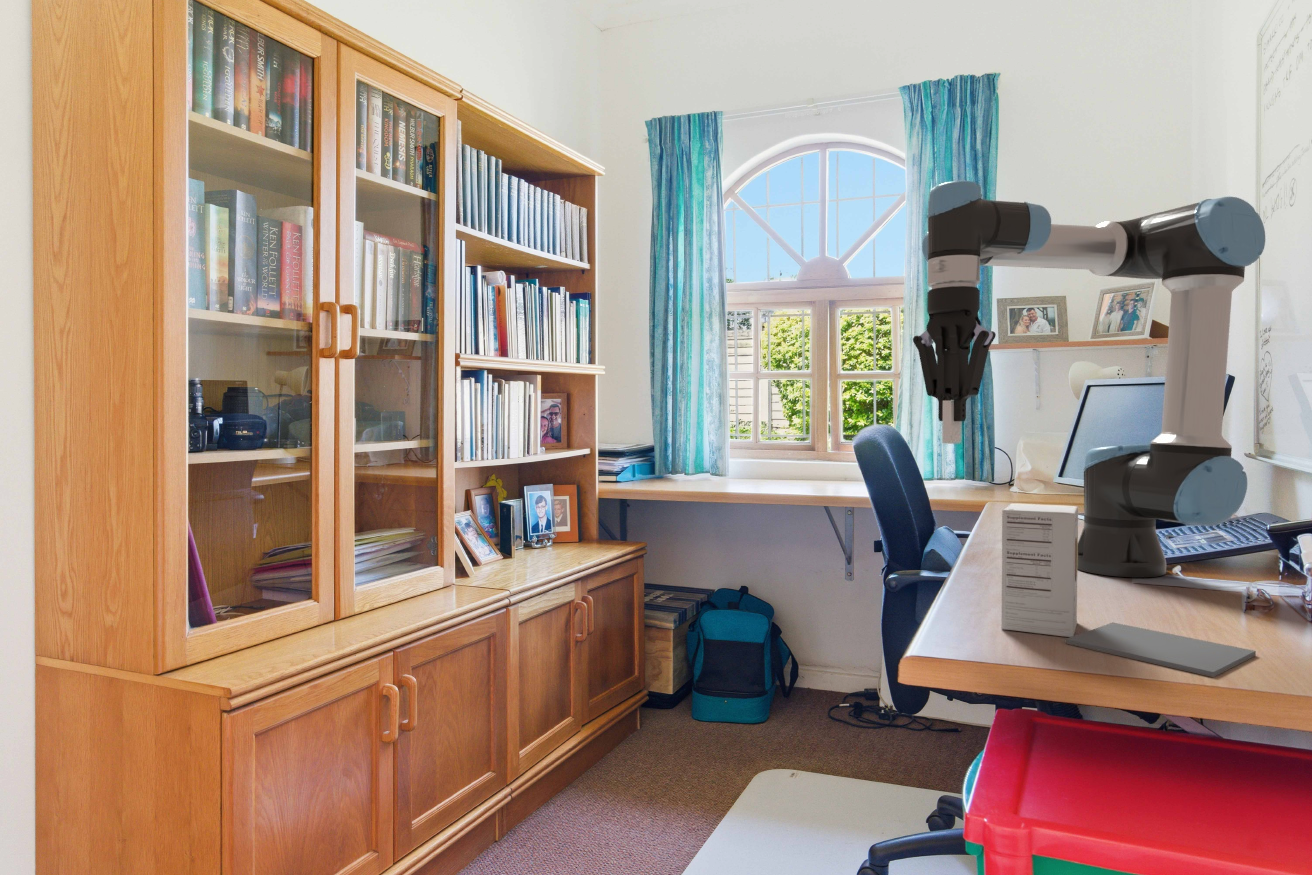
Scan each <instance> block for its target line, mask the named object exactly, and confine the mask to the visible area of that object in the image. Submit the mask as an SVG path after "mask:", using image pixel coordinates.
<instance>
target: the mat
mask: <svg viewBox="0 0 1312 875" xmlns="http://www.w3.org/2000/svg"><path fill="white" fill-rule="evenodd" d="M1065 644H1067V645H1070V646H1075V647H1079V648H1083V649H1088V650H1092V651H1097V652H1102V653H1105V654H1110V655H1115V656H1119V657H1122V658H1128V659H1132V660H1137V661H1140V662H1145V663H1148V664H1149V663H1150V664H1154V665H1158V666H1163V667H1165V668H1172V669H1176V670H1180V671H1185V672H1189V673H1193V674H1198V675H1201V676H1205V677H1210V678H1215V677H1217V676H1219V675H1221V674H1223V673H1225V672H1226V671H1228V670H1230V669H1232V668H1235V667H1237V666H1239V665H1240V664H1242V663H1244V662H1246V661H1248V660H1250V659H1252V658H1254V657H1256V650H1254V649H1248V648H1243V647H1237V646H1235V645H1234V646H1233V645H1228V644H1224V643H1219V642H1214V641H1208V640H1203V639H1198V638H1194V637H1193V638H1192V637H1188V636H1183V635H1178V634H1173V633H1167V632H1164V631H1163V632H1162V631H1158V630H1153V629H1148V628H1142V627H1138V626H1132V625H1127V624H1123V623H1117V622H1110V623H1107V624H1104V625H1102V626H1099V627H1095V628H1093V629H1090V630H1087V631H1084V632H1082V633H1079V634H1076V635H1074V636H1073V637H1066V638H1065Z"/></svg>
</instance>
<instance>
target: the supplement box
mask: <svg viewBox="0 0 1312 875" xmlns="http://www.w3.org/2000/svg"><path fill="white" fill-rule="evenodd" d="M1001 517H1002V518H1001V624H1000V625H1001V627H1000V628H1001V630H1005V631H1013V632H1014V631H1016V632H1026V633H1030V634H1031V633H1034V634H1041V635H1042V634H1043V635H1050V636H1056V637H1057V636H1058V637H1065V638H1070V637H1073V636H1075V632H1076V629H1077V623H1078V569H1077V562H1078V541H1079V506H1076V505H1075V506H1074V505H1062V504H1059V505H1058V504H1055V505H1054V504H1038V503H1036V504H1035V503H1012V502H1011V503H1009V504H1008V506H1006V507H1005V508H1004V509H1002V512H1001Z"/></svg>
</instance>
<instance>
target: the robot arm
mask: <svg viewBox="0 0 1312 875" xmlns="http://www.w3.org/2000/svg"><path fill="white" fill-rule="evenodd" d="M981 188H982V187H981V185H980V184H979V183H978V182H974V181H973V180H952V181H946V182H943V183H941V184H937V185H935V186H934V187H933V188H931V190H930V192H929V196H928V202H927V204H928V205H927V214H926V218H927V232H926V233H925V234H924V237H923V239H922V243H921V245H922V246H921V249H922V250H921V251H922V254H923V257H924V260H925V261H926V262H927V286H928V287H929V288H931V289H929V290H928V291H927V293H926V294H927V295H926V296H927V299H926V300H927V301H926V305H927V306H926V310H927V315H928V317H929V318H928V322H927V323H926V329H925V331H923V332H922V333H921V334H920V335H915V336H914V337H913V338H912V342H913V344H914V346H915V347H916V349H917V351H918V355H919V361H920V365H921V372H922V376H923V381H924V385H925V389H926V390H925V392H926V395H928V397H929V396H930V397H934V398H935V399H937V401H938V409H937V410H938V416H937V417H938V420H939V422H942V424H941V425H942V429H941V430H942V432H941V433H942V434H941V435H942V438H941V439H942V442H941V443H942V444H961V443H962V422H965V421H966V418H967V400H968V399H969V398H971V397H974V396H975V397H976V396H978V395H979V393H980V390H981V384H982V380H983V375H984V371H985V368H986V362H987V359H988V354H989V349H990V347H991V345H992V343H993V341H994V340H995V338H996V332H995V331H992V330H987V329H986V328H984V327H983V326H982V323H981V320H980V318H979V311H980V306H981V304H980V303H981V299H980V297H981V295H980V294H981V291H980V289H979V287H976V286H978V285H979V284H980V283H981V266H987V267H988V266H989V267H990V266H991V267H993V266H994V267H1014V268H1037V269H1038V268H1040V269H1062V270H1063V269H1064V270H1065V269H1066V270H1067V269H1068V270H1069V269H1070V270H1087V271H1089V272H1090V273H1091V274H1093V275H1096V276H1100V277H1101V276H1102V277H1117V278H1131V279H1139V280H1161V285H1162V286H1163V287H1164V288H1165V289H1167V291H1169V293H1170V294H1171V295H1170V296H1171V297H1170V307H1169V322H1168V335H1167V336H1168V338H1167V349H1166V350H1167V353H1166V362H1165V363H1166V364H1165V377H1164V378H1165V379H1164V394H1163V405H1162V406H1163V407H1162V417H1161V418H1162V420H1161V421H1162V422H1161V432H1160V433H1159V435H1157V436H1156V437H1155V438H1153V439H1152V440H1151V441H1150V443H1145V444H1144V443H1142V444H1141V443H1140V444H1124V445H1115V446H1114V445H1112V446H1102V447H1101V446H1100V447H1093V448H1091V449H1089V450H1088V451H1087V452H1086V453H1085V459H1084V467H1083V528H1082V531H1081V533H1080V537H1078V562H1077V570H1078V571H1082V572H1086V573H1091V574H1096V575H1102V576H1103V575H1104V576H1110V577H1111V576H1112V577H1123V578H1155V577H1162V576H1164V575H1167V560H1166V557H1165V554H1164V550H1163V549H1162V545H1161V541H1160V539H1159V537H1158V534H1157V529H1156V527H1157V526H1156V523H1157V522H1156V521H1157V520H1159V521H1166V522H1173V523H1179V524H1183V525H1185V526H1201V527H1202V526H1205V527H1213V526H1218V525H1220V524H1223V523H1225V522H1227V521H1228V520H1230V519H1231V517H1232V516H1233V515H1235V514H1236V513H1237V512H1238V511H1239V509H1240V508H1241V506H1242V505H1243V503H1244V500H1245V498H1246V495H1247V490H1248V476H1247V472H1246V471H1244V466H1243V465H1242V463H1240V462H1239V461H1238V460H1236V459H1235V458H1234V457H1232V452H1233V451H1232V449H1233V447H1232V444H1230V443H1229V442H1228V441H1227V440H1226V439H1225V438H1224V436H1223V435H1222V433H1223V422H1224V420H1223V419H1224V407H1225V406H1224V405H1225V392H1226V381H1227V379H1226V378H1227V364H1228V351H1229V350H1228V349H1229V337H1230V325H1231V324H1230V323H1231V312H1232V311H1231V309H1232V295H1233V291H1234V290H1235V289H1236V288H1237V287H1238V286H1240V285H1241V284H1243V283H1244V281H1245V272H1246V267H1248V266H1251V265H1252V264H1253V263H1255V262H1257V260H1259V259H1260V256H1261V255H1262V254H1263V252H1264V250H1265V246H1266V231H1265V229H1266V228H1265V225H1264V223H1263V221H1262V218H1261V216H1260V214H1259V213H1258V212H1256V210H1255V208H1254V206H1253V205H1252V204H1250V203H1249V201H1246V200H1245V199H1242V198H1240V197H1236V196H1222V197H1218V198H1206V199H1203V200H1201V201H1200V202H1196V203H1191V204H1187V205H1183V206H1180V207H1177V208H1173V209H1169V210H1168V209H1167V210H1164V211H1161V212H1160V211H1159V212H1155V213H1152V214H1149V215H1144V216H1141V217H1135V218H1133V219H1129V220H1128V219H1127V220H1122V221H1120V220H1119V221H1104V222H1101V223H1099V224H1097V225H1096V226H1094V225H1074V224H1073V225H1072V224H1058V223H1056V224H1055V223H1054V224H1053V223H1052V216H1051V214H1050V212H1049V211H1048V210H1047V208H1046V207H1045V206H1043V205H1041V204H1035V203H1030V202H1027V201H1022V202H1019V201H1017V202H1016V201H1006V200H1005V201H1003V200H990V199H985V198H983V194H982V189H981ZM972 342H973V345H972V348H971V343H972ZM934 344H935V348H934V346H933V345H934ZM969 355H970V356H969Z"/></svg>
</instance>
